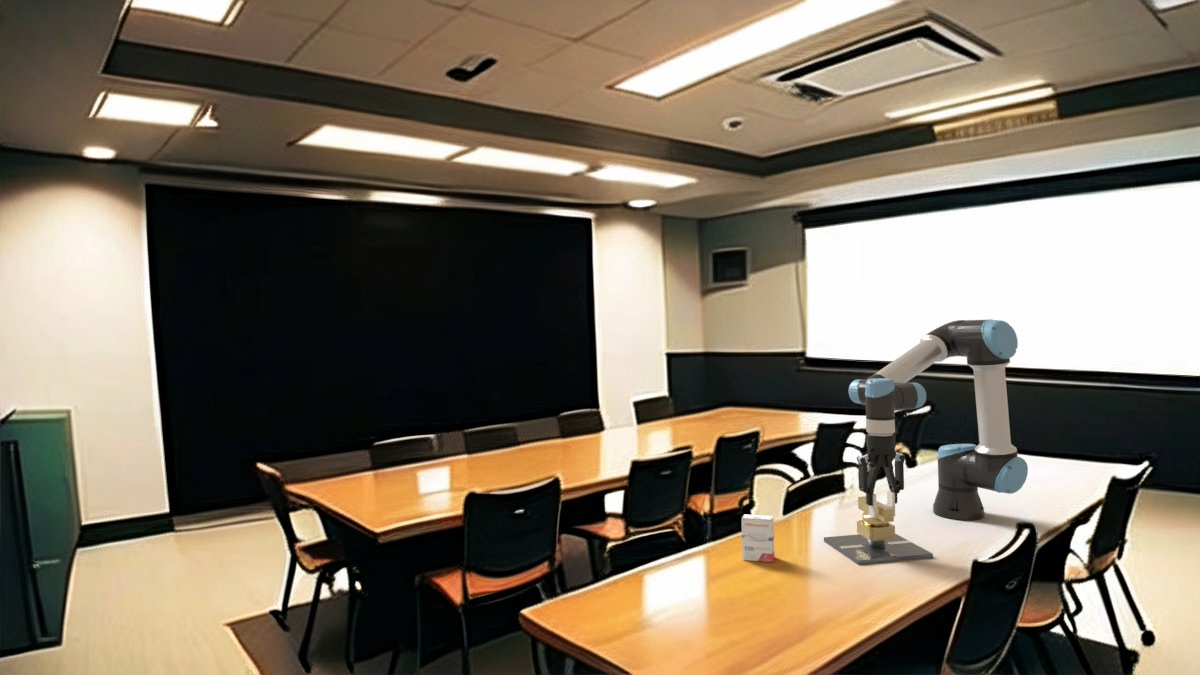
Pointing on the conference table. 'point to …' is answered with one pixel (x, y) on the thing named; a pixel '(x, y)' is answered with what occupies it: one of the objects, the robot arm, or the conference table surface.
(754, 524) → the ink box
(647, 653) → the conference table surface
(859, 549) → the plate
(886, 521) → the collar
